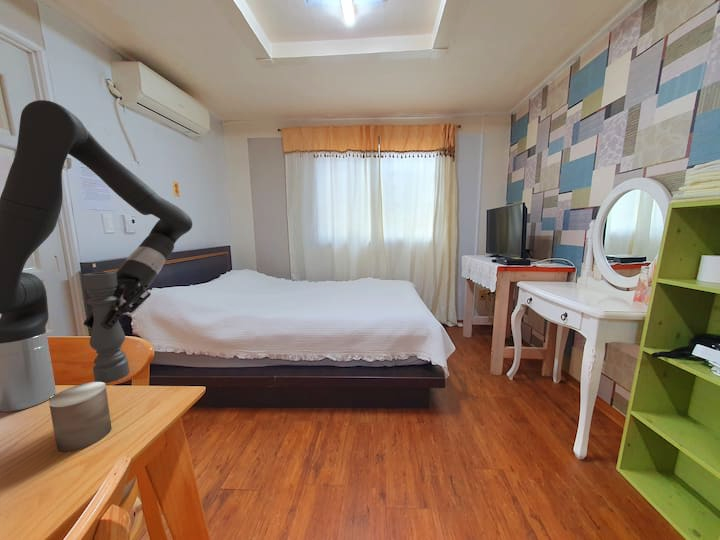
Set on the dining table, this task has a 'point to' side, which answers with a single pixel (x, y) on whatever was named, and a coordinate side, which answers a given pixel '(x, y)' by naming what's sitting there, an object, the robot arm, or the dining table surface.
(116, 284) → the candle holder
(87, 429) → the gray cylinder
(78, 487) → the dining table surface
